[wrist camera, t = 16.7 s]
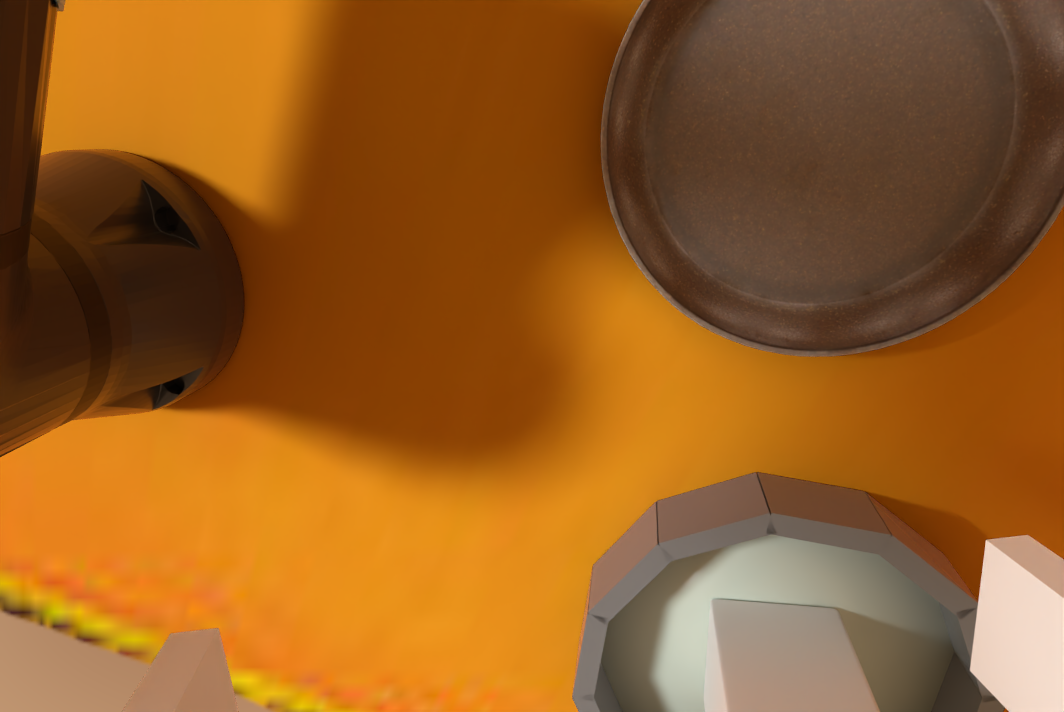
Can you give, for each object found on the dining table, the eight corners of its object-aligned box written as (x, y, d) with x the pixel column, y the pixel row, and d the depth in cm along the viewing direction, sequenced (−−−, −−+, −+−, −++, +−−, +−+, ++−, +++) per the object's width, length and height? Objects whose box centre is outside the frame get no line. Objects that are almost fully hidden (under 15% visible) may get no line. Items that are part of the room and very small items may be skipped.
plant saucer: (719, 404, 39) (725, 427, 36) (528, 61, 35) (517, 54, 32) (1121, 214, 33) (1171, 222, 30) (946, -219, 29) (982, -261, 26)
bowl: (561, 741, 47) (553, 801, 43) (614, 446, 40) (610, 483, 36) (900, 817, 45) (927, 888, 41) (1018, 518, 38) (1065, 566, 34)
